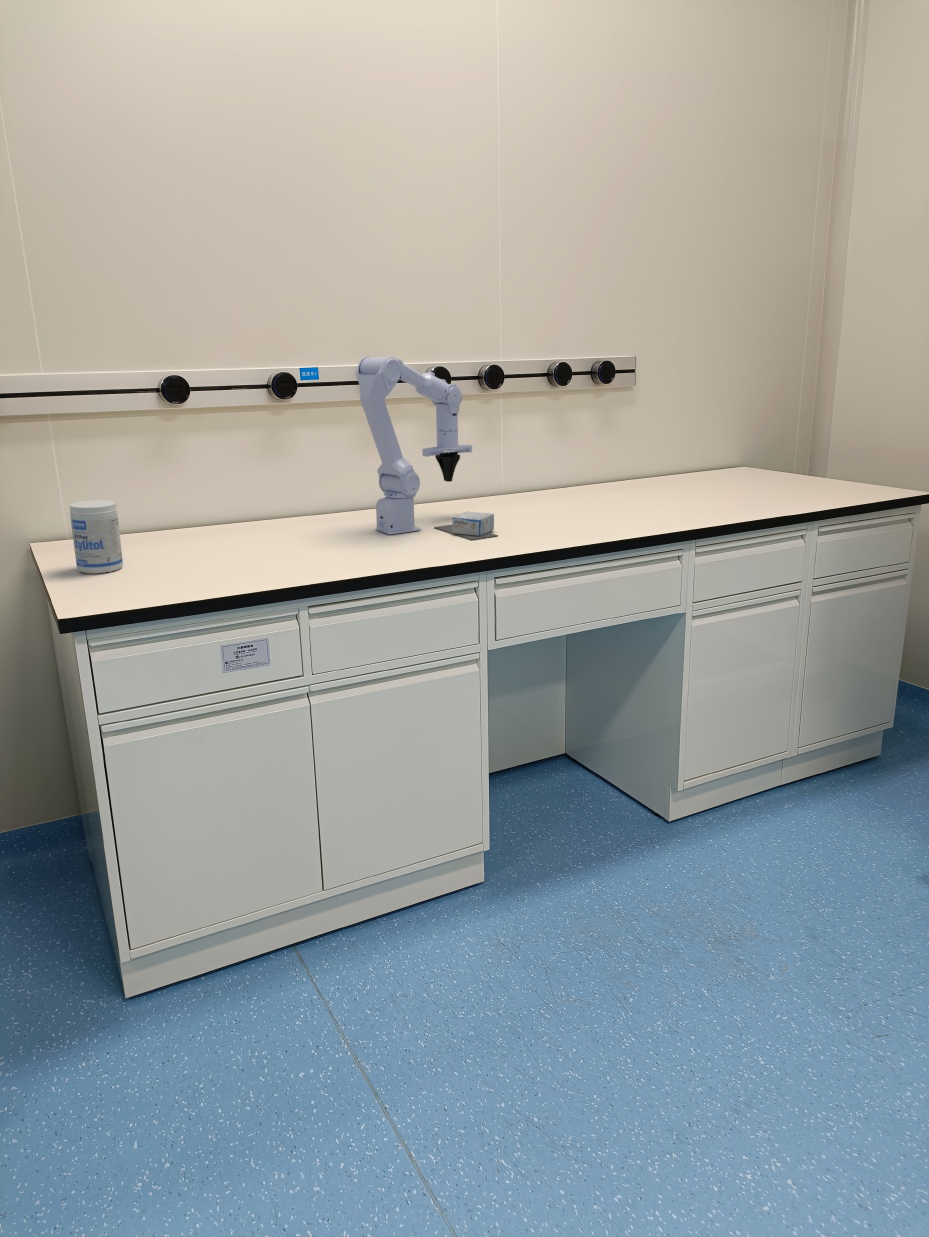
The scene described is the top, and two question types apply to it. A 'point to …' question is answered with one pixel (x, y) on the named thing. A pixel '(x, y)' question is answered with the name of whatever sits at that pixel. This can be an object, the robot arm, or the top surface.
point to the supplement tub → (96, 536)
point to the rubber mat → (449, 530)
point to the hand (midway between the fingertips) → (448, 481)
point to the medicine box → (473, 523)
